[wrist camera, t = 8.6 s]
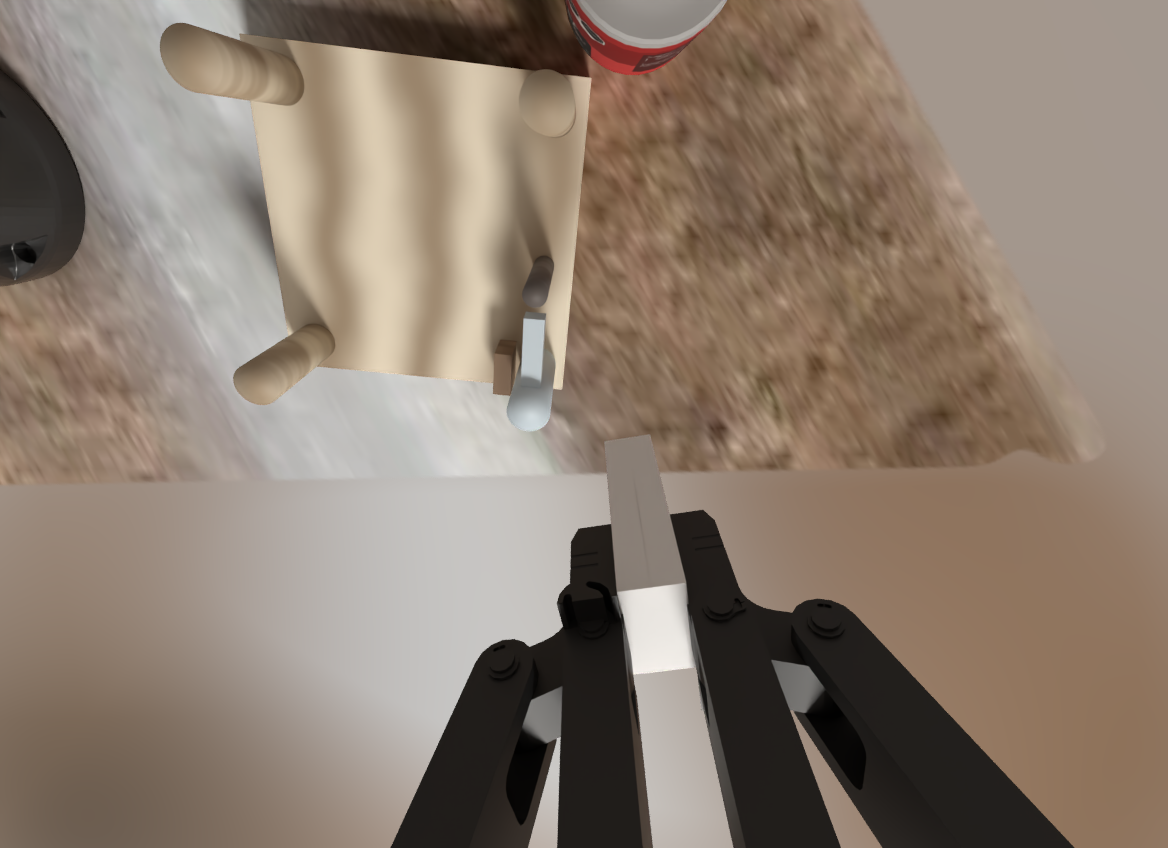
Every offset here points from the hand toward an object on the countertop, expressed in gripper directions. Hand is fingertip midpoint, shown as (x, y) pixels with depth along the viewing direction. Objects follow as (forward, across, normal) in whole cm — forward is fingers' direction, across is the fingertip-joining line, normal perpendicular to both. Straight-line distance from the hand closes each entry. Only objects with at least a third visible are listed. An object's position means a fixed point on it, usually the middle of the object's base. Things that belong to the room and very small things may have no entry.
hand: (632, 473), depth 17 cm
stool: (+24, -11, +6) cm, 27 cm away
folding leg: (+22, -5, -2) cm, 22 cm away
